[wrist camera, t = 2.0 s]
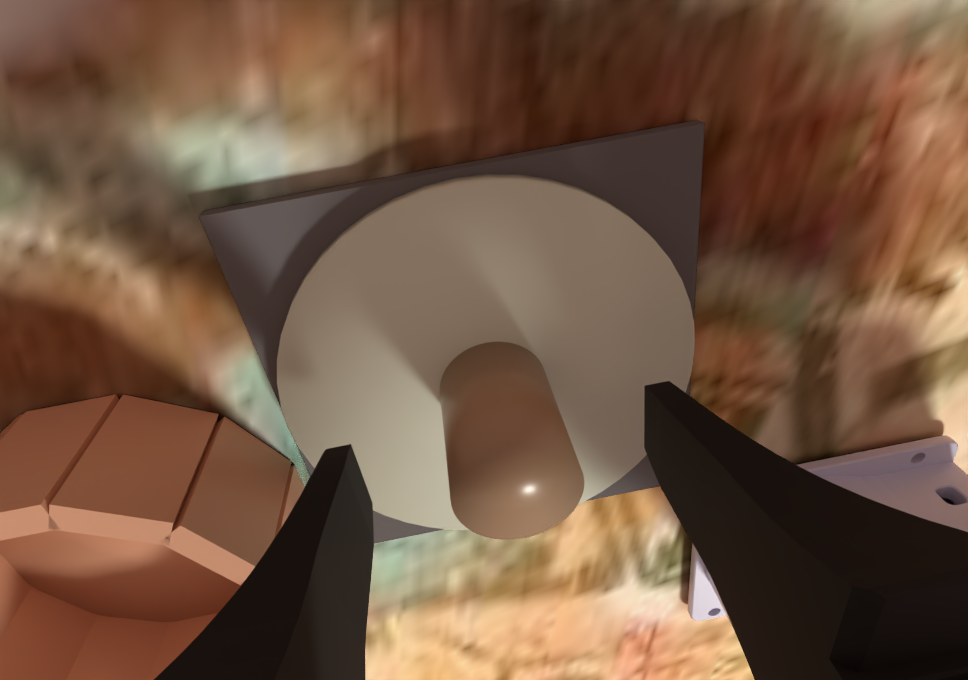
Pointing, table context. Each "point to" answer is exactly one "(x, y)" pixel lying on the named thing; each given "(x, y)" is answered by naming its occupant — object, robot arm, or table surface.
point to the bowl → (127, 533)
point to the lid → (485, 351)
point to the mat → (328, 212)
